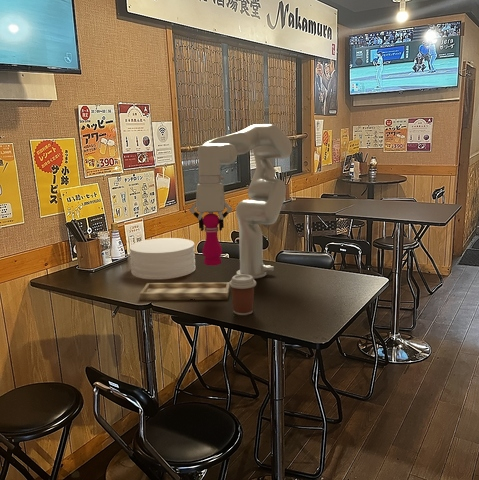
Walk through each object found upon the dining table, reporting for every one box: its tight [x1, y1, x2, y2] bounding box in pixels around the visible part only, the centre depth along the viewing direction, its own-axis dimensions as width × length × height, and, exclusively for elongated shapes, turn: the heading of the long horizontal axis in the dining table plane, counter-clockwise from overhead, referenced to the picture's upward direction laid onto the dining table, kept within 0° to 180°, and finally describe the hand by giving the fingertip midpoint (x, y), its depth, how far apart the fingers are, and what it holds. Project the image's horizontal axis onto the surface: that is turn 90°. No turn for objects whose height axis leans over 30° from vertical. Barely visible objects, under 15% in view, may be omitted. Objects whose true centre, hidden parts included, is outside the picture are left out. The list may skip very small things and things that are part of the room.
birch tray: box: [138, 281, 231, 301], centre depth 179 cm, size 32×12×2 cm, turn 88°
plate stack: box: [129, 237, 196, 280], centre depth 211 cm, size 28×28×12 cm
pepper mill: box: [202, 212, 223, 267], centre depth 174 cm, size 7×7×20 cm
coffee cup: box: [229, 274, 257, 316], centre depth 159 cm, size 9×9×12 cm
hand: (211, 229), depth 173 cm, fingers closed on pepper mill, 6 cm apart
